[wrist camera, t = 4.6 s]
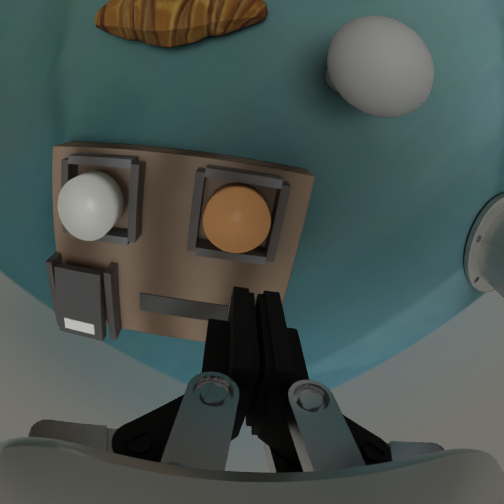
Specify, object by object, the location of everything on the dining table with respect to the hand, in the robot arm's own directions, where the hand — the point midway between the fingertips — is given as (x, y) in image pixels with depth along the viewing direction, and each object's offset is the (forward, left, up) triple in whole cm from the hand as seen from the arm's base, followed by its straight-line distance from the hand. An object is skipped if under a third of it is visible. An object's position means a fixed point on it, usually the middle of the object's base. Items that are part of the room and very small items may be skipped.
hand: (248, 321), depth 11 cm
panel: (+5, +4, -15) cm, 16 cm away
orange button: (0, 0, -11) cm, 11 cm away
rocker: (+12, +9, -10) cm, 18 cm away
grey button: (+10, 0, -10) cm, 15 cm away
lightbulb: (-6, -12, -15) cm, 20 cm away
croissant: (+8, -15, -15) cm, 23 cm away
